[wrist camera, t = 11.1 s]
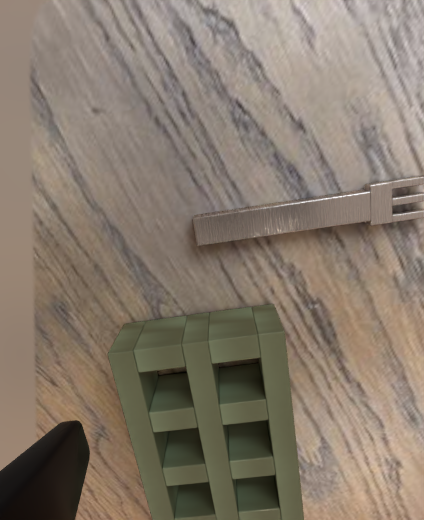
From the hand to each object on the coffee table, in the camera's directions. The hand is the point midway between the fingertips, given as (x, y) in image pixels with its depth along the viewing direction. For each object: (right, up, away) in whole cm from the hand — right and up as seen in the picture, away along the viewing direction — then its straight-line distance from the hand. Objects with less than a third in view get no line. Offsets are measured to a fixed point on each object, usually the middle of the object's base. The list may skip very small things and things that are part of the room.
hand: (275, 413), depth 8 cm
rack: (-1, -6, +15) cm, 17 cm away
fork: (-2, +5, +12) cm, 13 cm away
